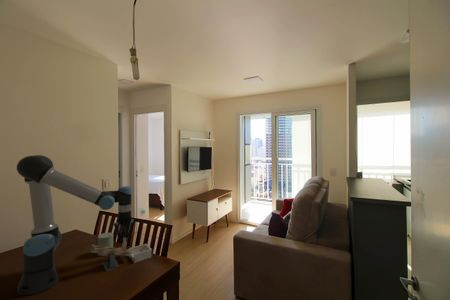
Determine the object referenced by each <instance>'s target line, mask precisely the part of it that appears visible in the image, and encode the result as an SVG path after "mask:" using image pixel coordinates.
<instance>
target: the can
mask: <svg viewBox="0 0 450 300" xmlns="http://www.w3.org/2000/svg"><path fill="white" fill-rule="evenodd" d="M97 246H102V247H111V248H114V232H113V233H112V232H104V233H100V234H98V235H97ZM96 254H97V256H99V257H105V256H106V257H107V254H101V253H96Z"/></svg>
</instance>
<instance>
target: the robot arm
mask: <svg viewBox="0 0 450 300" xmlns="http://www.w3.org/2000/svg"><path fill="white" fill-rule="evenodd" d="M16 171H17V173H18V174H19V175H20V177H23V178H24V182H25V184H28V187H29V188H28V189H29V196H30V202H31V211H32V212H31V213H32V220H33V229H32V230H31V231H30V235H31V237H30V238H28V239H26V240H25V242H24V243H23V247H22V253H23V254H22V274H21V277H20V280H19V282H18V284H17V288H16V289H17V294H18V295H19V296H30V295H36V294H39V293H42V292H44V291H46V290H48V289H51V288H52V287H53V286H56V284H57V282H58V280H59V279H58V278H59V275H58V272H57V270H56V268H55V251H56V249H57V248H58V246H59V245H60V243H61V241H62V232H61V231H60V228H59V224H57V223H55V217H54V209H53V208H54V207H53V200H52V199H53V198H52V191H51V187H52V188H56V189H57V190H59V191H60V190H61V191H62V192H64V193H67V194H70V195H72V196H74V197H77V198H80V199H81V200H84V201H86V202H89V203H90V204H94V205H96V206H99V208H100V209H102V210H103V211H104V210H105V211H107V210H111V209H112V208H113V207H114V205H115V203H118V205H117V211H118V212H117V220H116V222H113V224H112V225H113V226H114V228H115V232H116V236H117V238H118V239H120V243H121V245H122V246H121V247H122V248H123V249H125V248H126V249H127V243H128V242H129V239H128V238H129V237H130V236H132V232H133V228H134V224H135V223H136V220H135V219H133V218H132V187H131V186H126V185H125V186H120V187H118V190H101V189H97V188H95V187H94V186H91V185H89V184H87V183H86V182H82V181H80V180H77V178H74V177H72V176H70V175H67V174H65V173H63V172H60V171H58V170H55V167H54V163H53V161H52V159H50V158H49V157H47V156H45V155H42V154H37V155H27V156H25V157H23V158H21V159H20V160H18V163H17V164H16ZM129 224H130V225H129ZM119 226H120V230H119Z"/></svg>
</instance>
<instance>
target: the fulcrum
mask: <svg viewBox="0 0 450 300" xmlns="http://www.w3.org/2000/svg"><path fill="white" fill-rule="evenodd" d="M101 263H102V267H103V268H104V271H105V272H108V271H112V270H115V269H118V268H120V264H119V263H118V261H117V259H116V255H115V253H114V254H110V255H109V254H107V255H106V261H103V262H101Z"/></svg>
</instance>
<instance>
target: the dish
mask: <svg viewBox="0 0 450 300" xmlns="http://www.w3.org/2000/svg"><path fill="white" fill-rule="evenodd" d="M128 249H129V252H132V253H131V255H130V256H128V257H129V259H131V261H132V262H133V263H134V264H136V263H138V262H142V261H145V260H148V259H152V258H153V249H152V248H151V247H150V246H149V245H148V244H147V243H144V244H140V245H136V246H132V247H129V248H128ZM142 250H145V251H143V252H141V251H142Z"/></svg>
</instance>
